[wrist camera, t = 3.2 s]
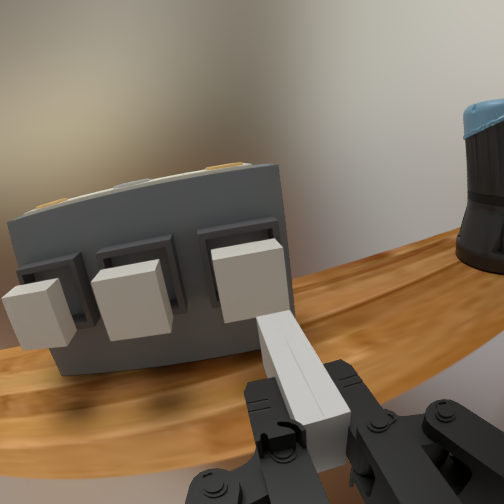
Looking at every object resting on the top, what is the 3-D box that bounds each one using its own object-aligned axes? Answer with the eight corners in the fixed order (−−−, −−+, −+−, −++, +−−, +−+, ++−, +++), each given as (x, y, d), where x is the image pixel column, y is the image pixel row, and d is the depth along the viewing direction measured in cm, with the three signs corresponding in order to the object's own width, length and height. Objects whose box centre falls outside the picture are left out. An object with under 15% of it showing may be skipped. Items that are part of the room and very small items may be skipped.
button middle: (173, 316, 23) (159, 258, 21) (171, 332, 20) (154, 270, 19) (117, 324, 22) (100, 269, 21) (110, 341, 20) (90, 282, 19)
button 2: (281, 296, 24) (274, 238, 22) (289, 310, 21) (283, 247, 20) (221, 307, 23) (210, 249, 22) (224, 323, 21) (212, 260, 20)
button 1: (77, 330, 22) (58, 277, 21) (67, 346, 20) (46, 290, 18) (34, 335, 21) (15, 286, 20) (22, 350, 19) (1, 298, 18)
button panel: (284, 317, 34) (264, 158, 29) (303, 352, 28) (283, 157, 23) (75, 350, 32) (30, 207, 27) (55, 387, 25) (-7, 221, 20)
